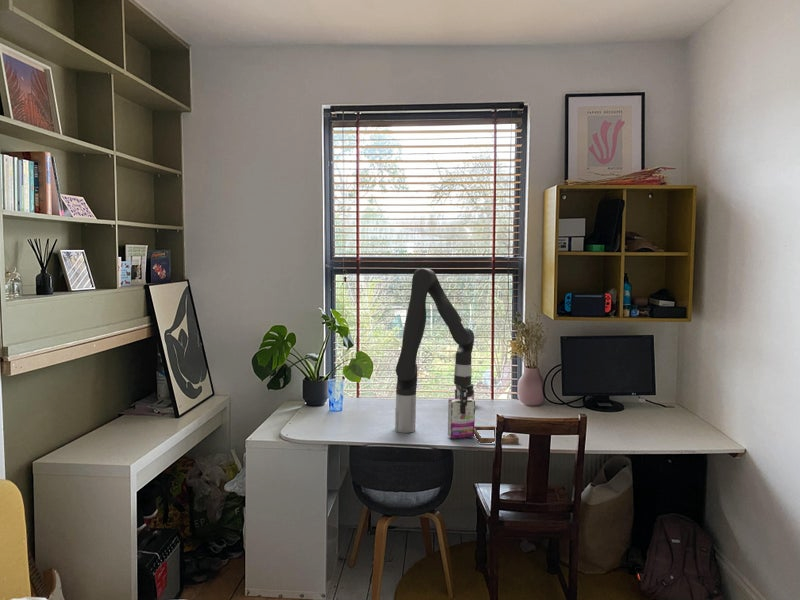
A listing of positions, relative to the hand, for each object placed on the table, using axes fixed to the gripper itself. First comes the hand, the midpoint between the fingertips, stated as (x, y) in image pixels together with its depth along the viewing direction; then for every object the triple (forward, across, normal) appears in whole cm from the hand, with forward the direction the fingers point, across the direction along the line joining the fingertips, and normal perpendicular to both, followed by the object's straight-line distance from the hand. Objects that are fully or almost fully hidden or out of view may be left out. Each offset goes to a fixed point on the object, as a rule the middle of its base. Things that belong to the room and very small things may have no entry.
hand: (461, 411), depth 242 cm
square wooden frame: (+12, 0, +15) cm, 19 cm away
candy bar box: (+11, 0, 0) cm, 11 cm away
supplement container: (+12, -52, +11) cm, 55 cm away
